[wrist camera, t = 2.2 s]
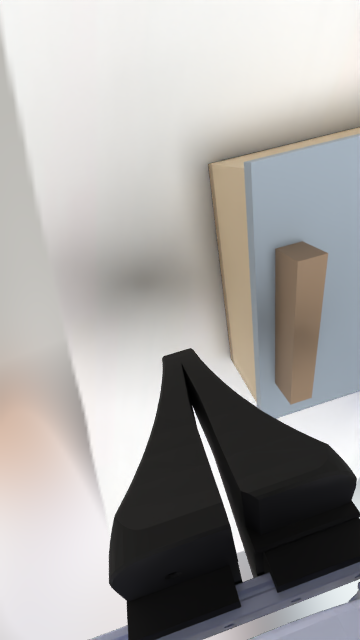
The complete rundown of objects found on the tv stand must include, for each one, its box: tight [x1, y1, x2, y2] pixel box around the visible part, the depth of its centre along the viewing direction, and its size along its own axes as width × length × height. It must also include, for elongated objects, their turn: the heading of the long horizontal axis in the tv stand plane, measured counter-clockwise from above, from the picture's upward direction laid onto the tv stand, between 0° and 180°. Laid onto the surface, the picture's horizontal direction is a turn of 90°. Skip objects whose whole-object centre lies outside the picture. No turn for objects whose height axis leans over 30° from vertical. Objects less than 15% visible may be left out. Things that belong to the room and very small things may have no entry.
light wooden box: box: [208, 127, 360, 402], centre depth 17 cm, size 14×10×5 cm
